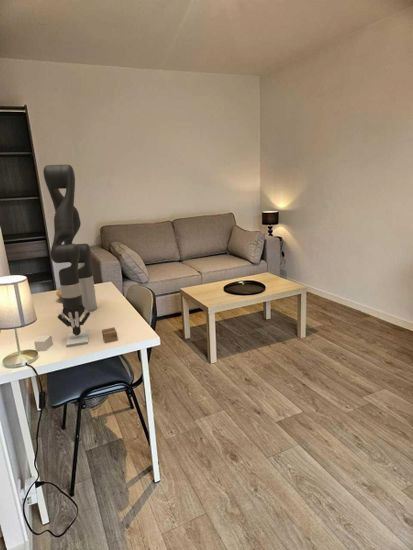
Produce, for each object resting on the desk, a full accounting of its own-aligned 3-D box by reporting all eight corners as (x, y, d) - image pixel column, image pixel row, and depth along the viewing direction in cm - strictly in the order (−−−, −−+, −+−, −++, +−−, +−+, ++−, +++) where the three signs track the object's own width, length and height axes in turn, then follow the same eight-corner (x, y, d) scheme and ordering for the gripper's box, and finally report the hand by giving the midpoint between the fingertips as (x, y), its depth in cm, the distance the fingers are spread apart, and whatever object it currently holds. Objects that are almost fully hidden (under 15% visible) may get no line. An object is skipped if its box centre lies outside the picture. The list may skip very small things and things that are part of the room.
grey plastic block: (43, 344, 145) (41, 335, 144) (53, 344, 145) (51, 334, 144) (35, 351, 139) (34, 341, 138) (46, 351, 139) (44, 341, 138)
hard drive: (87, 341, 143) (88, 329, 155) (65, 345, 141) (68, 332, 152) (88, 345, 143) (89, 333, 155) (66, 348, 141) (68, 336, 153)
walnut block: (102, 338, 148) (101, 329, 147) (115, 336, 150) (114, 327, 149) (105, 343, 144) (103, 334, 142) (117, 340, 146) (116, 331, 144)
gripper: (89, 289, 148) (94, 329, 152) (55, 293, 145) (61, 333, 150) (87, 295, 141) (93, 336, 145) (51, 298, 138) (58, 340, 143)
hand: (77, 334), depth 147 cm, fingers closed
